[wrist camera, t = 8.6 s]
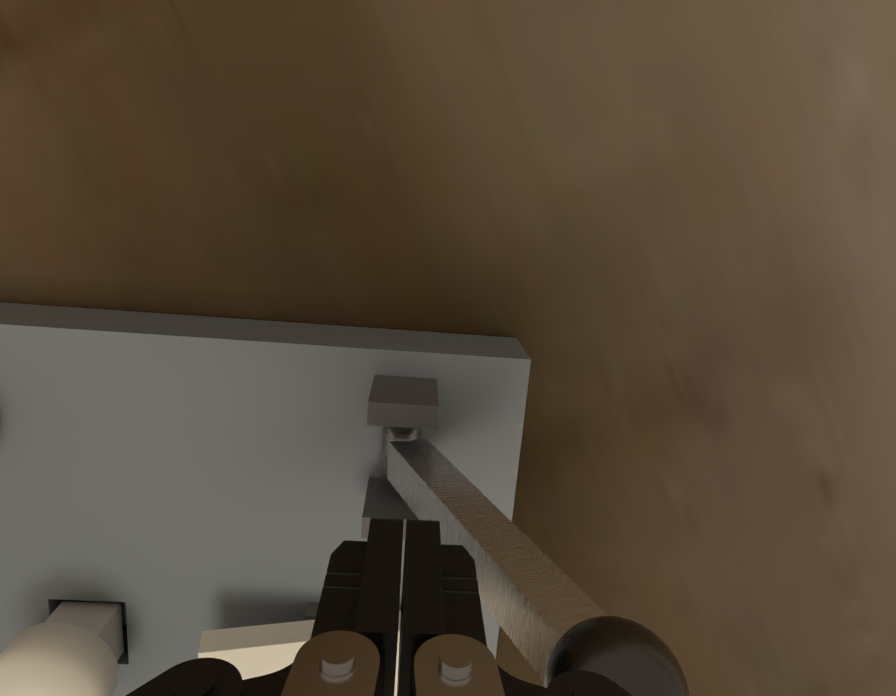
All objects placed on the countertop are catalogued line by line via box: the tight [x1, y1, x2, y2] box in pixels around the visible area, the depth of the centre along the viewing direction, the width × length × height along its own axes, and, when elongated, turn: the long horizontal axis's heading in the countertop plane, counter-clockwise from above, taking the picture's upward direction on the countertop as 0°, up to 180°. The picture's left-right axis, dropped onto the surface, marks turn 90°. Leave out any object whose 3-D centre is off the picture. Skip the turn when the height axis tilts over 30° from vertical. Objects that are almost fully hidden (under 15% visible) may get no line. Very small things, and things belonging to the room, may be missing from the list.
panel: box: [0, 302, 531, 696], centre depth 21 cm, size 21×14×6 cm, turn 85°
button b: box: [0, 601, 124, 696], centre depth 20 cm, size 4×4×4 cm
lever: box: [380, 426, 689, 696], centre depth 15 cm, size 2×2×12 cm
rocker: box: [198, 611, 401, 696], centre depth 21 cm, size 7×3×1 cm, turn 85°
